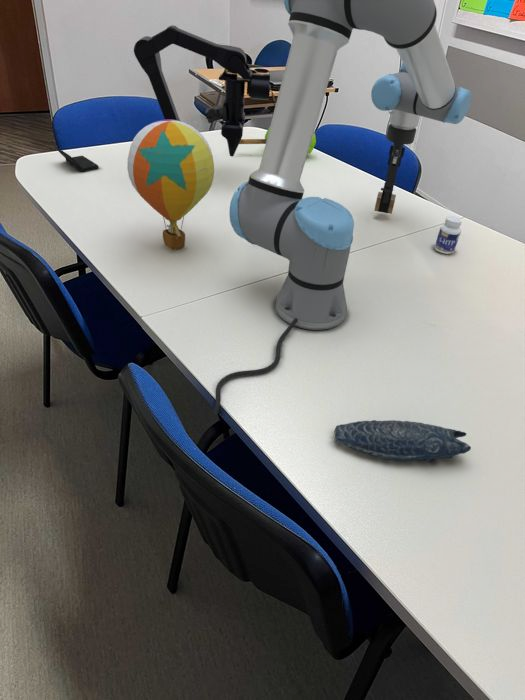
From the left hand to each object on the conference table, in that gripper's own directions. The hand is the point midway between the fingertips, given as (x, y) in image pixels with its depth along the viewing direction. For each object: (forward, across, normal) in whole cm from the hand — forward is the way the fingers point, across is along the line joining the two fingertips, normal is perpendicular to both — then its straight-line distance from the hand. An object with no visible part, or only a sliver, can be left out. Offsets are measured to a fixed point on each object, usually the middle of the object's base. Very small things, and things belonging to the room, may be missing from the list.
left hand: (232, 151), depth 163 cm
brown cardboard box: (+7, +20, +46) cm, 51 cm away
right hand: (+7, +20, +46) cm, 51 cm away
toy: (+9, +48, -11) cm, 50 cm away
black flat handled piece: (+9, -2, -50) cm, 51 cm away
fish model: (+9, +110, +34) cm, 115 cm away
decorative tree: (+9, -27, +14) cm, 32 cm away
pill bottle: (+9, +39, +60) cm, 72 cm away
